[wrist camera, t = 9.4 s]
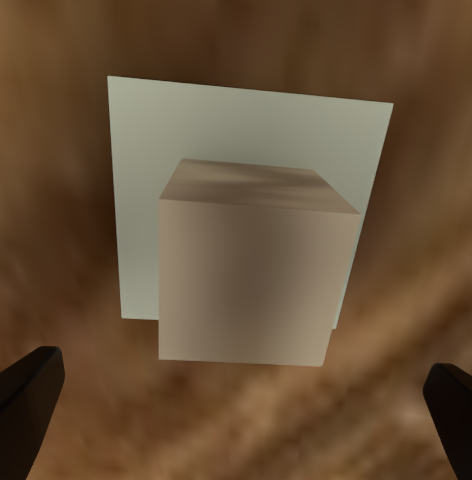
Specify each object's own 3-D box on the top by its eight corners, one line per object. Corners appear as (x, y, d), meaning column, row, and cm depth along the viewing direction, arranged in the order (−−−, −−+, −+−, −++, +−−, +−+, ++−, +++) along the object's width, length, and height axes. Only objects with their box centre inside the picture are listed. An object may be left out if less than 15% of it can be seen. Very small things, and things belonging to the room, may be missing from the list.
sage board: (383, 102, 16) (393, 103, 15) (330, 317, 20) (335, 328, 20) (114, 76, 15) (107, 75, 14) (126, 307, 20) (121, 317, 19)
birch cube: (313, 169, 16) (361, 214, 10) (292, 281, 18) (322, 366, 13) (181, 158, 15) (158, 199, 10) (178, 274, 18) (159, 359, 12)
